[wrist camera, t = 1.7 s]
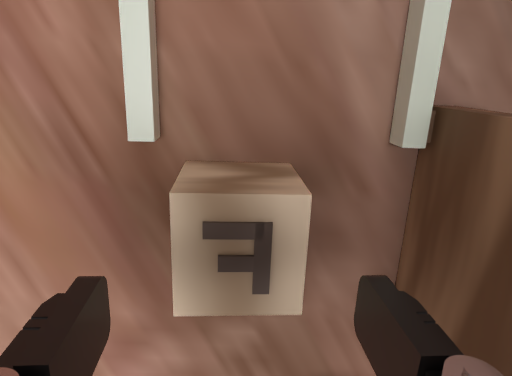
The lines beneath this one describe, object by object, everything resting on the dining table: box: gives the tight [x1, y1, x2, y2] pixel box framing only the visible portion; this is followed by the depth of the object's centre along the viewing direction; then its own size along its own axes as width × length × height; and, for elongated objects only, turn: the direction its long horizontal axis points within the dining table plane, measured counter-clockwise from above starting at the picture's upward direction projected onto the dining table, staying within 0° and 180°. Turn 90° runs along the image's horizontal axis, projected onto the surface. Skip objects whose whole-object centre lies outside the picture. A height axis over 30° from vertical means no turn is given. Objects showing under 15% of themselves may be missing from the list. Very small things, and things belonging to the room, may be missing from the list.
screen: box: [395, 105, 512, 376], centre depth 15 cm, size 5×13×13 cm, turn 178°
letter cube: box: [169, 161, 312, 316], centre depth 17 cm, size 6×6×6 cm
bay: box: [119, 0, 452, 148], centre depth 16 cm, size 14×12×2 cm
